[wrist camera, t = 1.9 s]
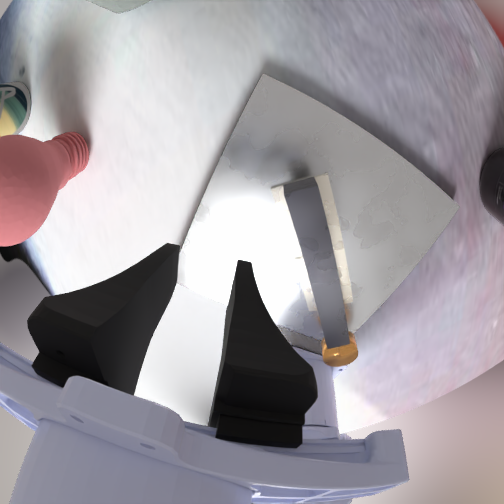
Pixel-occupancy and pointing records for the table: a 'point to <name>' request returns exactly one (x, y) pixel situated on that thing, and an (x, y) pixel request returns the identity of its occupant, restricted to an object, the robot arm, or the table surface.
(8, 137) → the light bulb
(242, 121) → the square grey plate
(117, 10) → the air freshener
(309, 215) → the swing arm
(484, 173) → the supplement bottle
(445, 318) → the table surface
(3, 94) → the lotion bottle
